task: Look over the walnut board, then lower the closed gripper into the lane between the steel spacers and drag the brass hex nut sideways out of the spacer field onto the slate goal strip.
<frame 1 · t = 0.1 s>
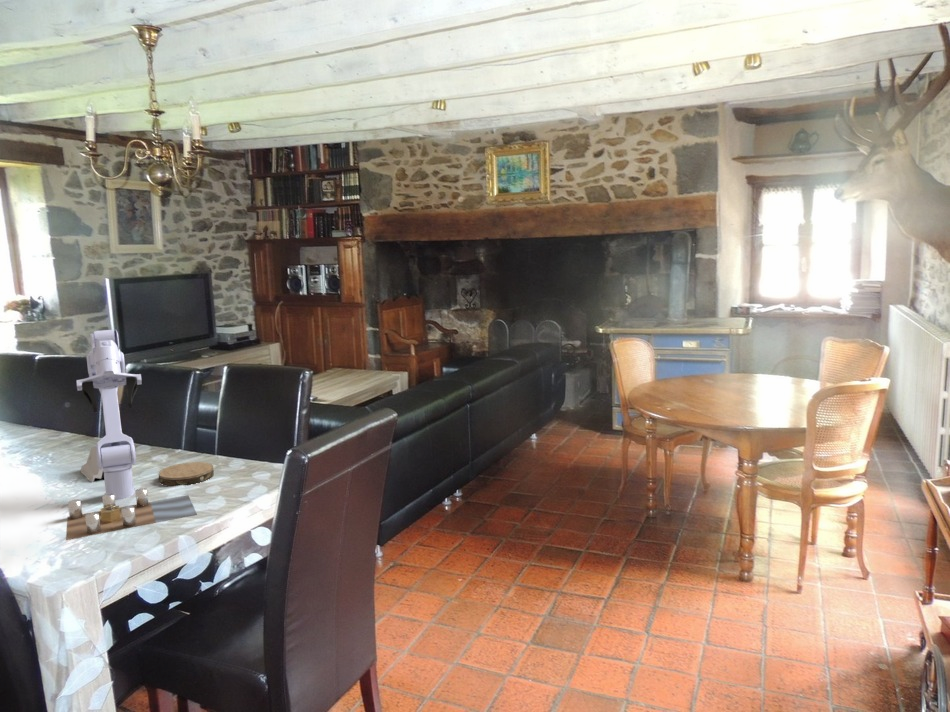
hand: (112, 407, 169), 32 cm above the table, tool tilted 50°, fingers open, 7 cm apart
steel spacers: (111, 522, 179), resting on spacer board
spacer board: (132, 518, 181), on the table
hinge: (99, 475, 221), on the table
brass nut: (111, 519, 179), point 1 cm above the table, touching spacer board
brown flat round disc: (187, 479, 215), on the table
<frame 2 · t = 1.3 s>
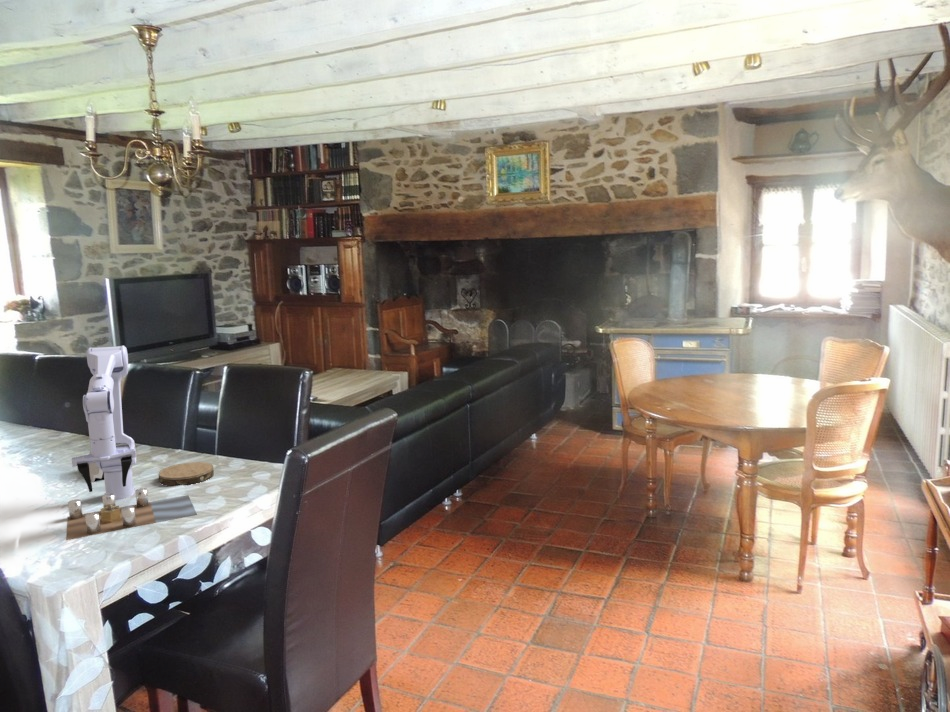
hand: (107, 488, 177), 9 cm above the table, tool pointing down, fingers open, 7 cm apart
nothing on the table moved.
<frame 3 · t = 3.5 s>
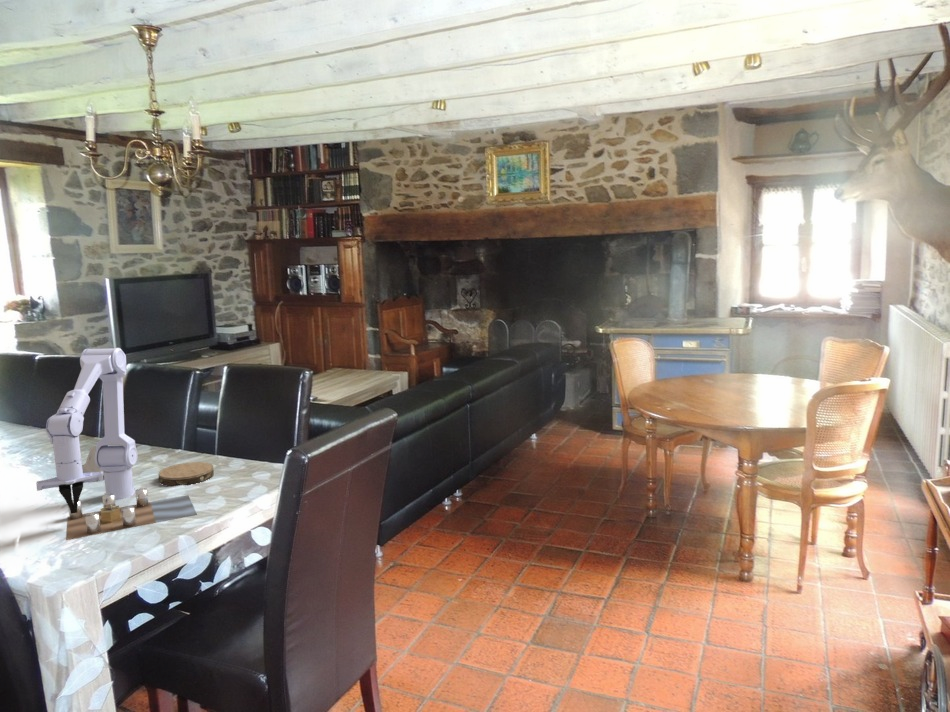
hand: (74, 511, 174), 5 cm above the table, tool pointing down, fingers closed
nothing on the table moved.
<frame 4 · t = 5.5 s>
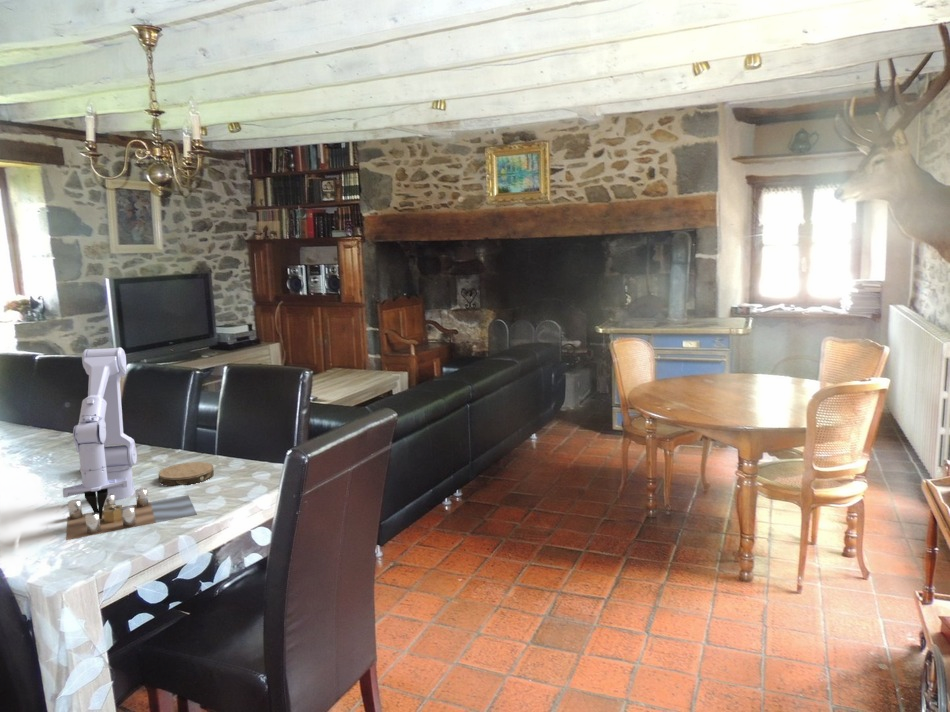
hand: (99, 518, 177), 2 cm above the table, tool pointing down, fingers closed
brass nut: (113, 519, 179), point 1 cm above the table, touching gripper, spacer board
everything else where it was.
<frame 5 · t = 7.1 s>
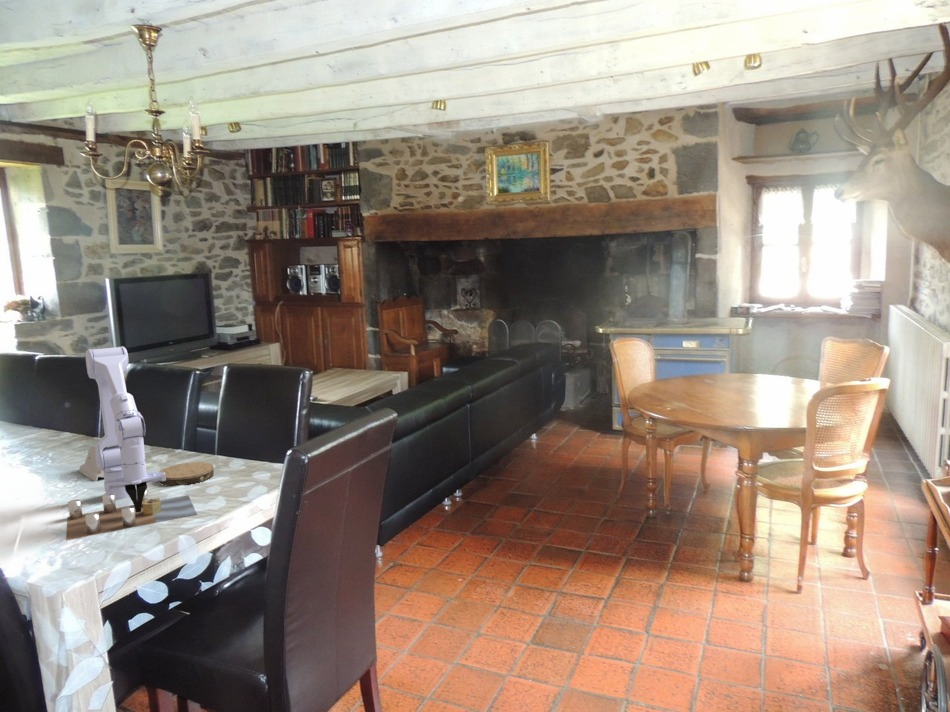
hand: (138, 510, 182), 2 cm above the table, tool pointing down, fingers closed
brass nut: (152, 512, 183), point 1 cm above the table, touching gripper
everything else where it was.
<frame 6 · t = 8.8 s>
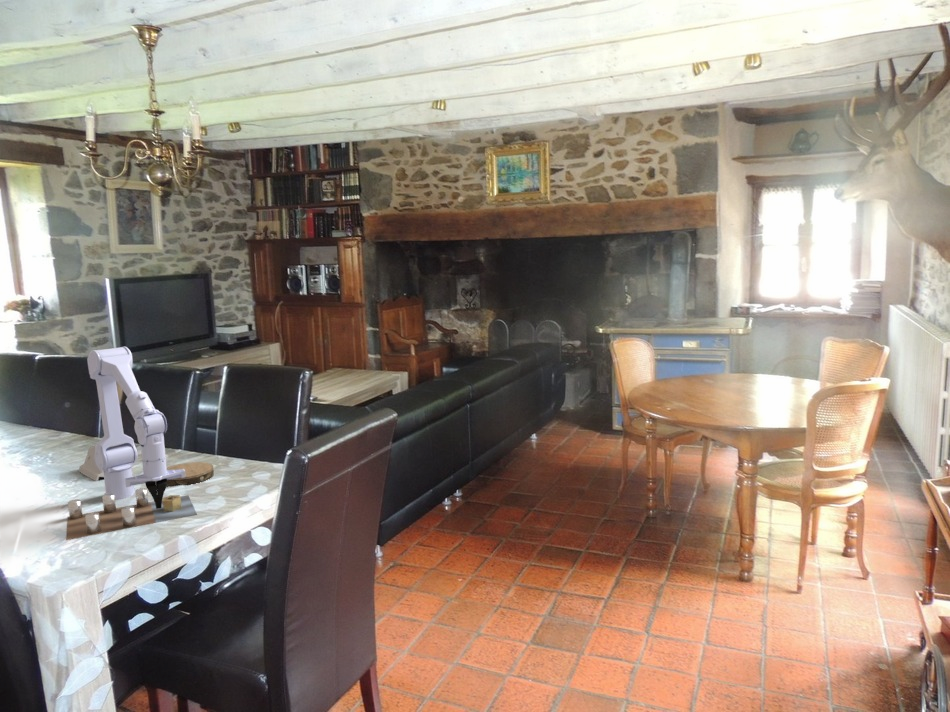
hand: (158, 507, 184), 2 cm above the table, tool pointing down, fingers closed
brass nut: (172, 508, 186), point 1 cm above the table, touching gripper, spacer board
everything else where it was.
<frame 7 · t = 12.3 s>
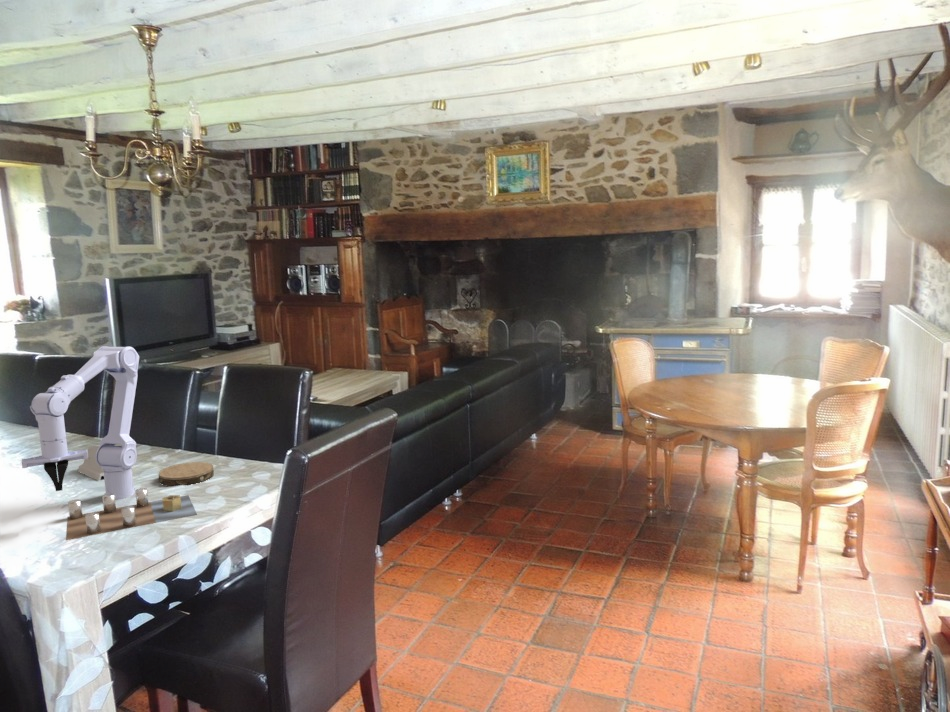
hand: (59, 489, 177), 9 cm above the table, tool pointing down, fingers closed
brass nut: (172, 508, 186), point 1 cm above the table, touching spacer board
at the end: brass nut inside the target area (1.2 cm from its centre), point 0.8 cm above the table; brass nut tilted 0° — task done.
